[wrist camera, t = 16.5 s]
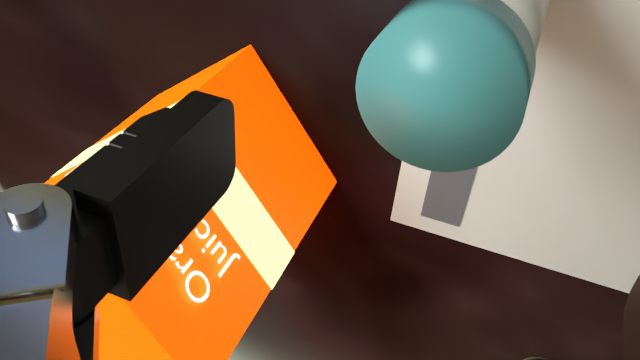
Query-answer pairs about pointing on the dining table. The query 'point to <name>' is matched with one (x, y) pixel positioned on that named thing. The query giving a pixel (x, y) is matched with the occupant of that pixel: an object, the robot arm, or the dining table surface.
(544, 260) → the paper sheet
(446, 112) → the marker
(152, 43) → the dining table surface
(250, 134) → the orange juice
